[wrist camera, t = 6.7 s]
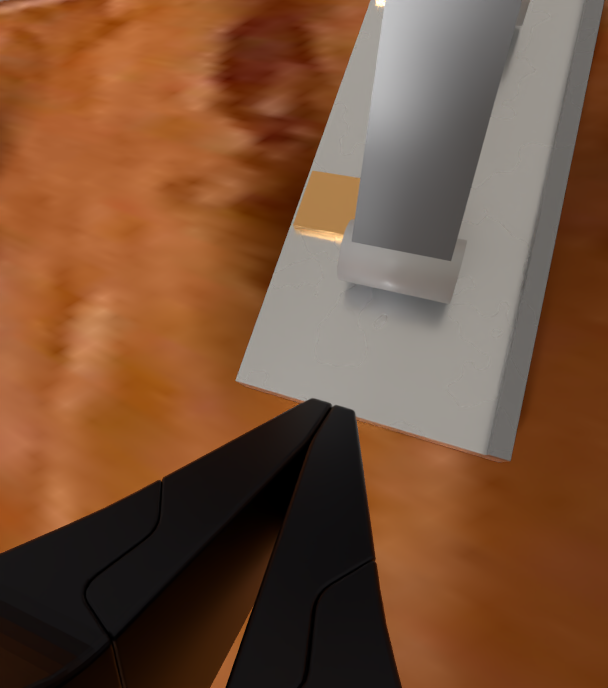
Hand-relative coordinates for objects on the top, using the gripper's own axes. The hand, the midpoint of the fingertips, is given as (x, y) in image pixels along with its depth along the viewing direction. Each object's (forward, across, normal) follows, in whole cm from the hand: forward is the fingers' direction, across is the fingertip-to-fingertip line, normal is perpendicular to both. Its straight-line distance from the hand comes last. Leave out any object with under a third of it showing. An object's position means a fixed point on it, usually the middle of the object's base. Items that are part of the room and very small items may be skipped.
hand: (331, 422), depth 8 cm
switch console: (+13, 0, -3) cm, 13 cm away
